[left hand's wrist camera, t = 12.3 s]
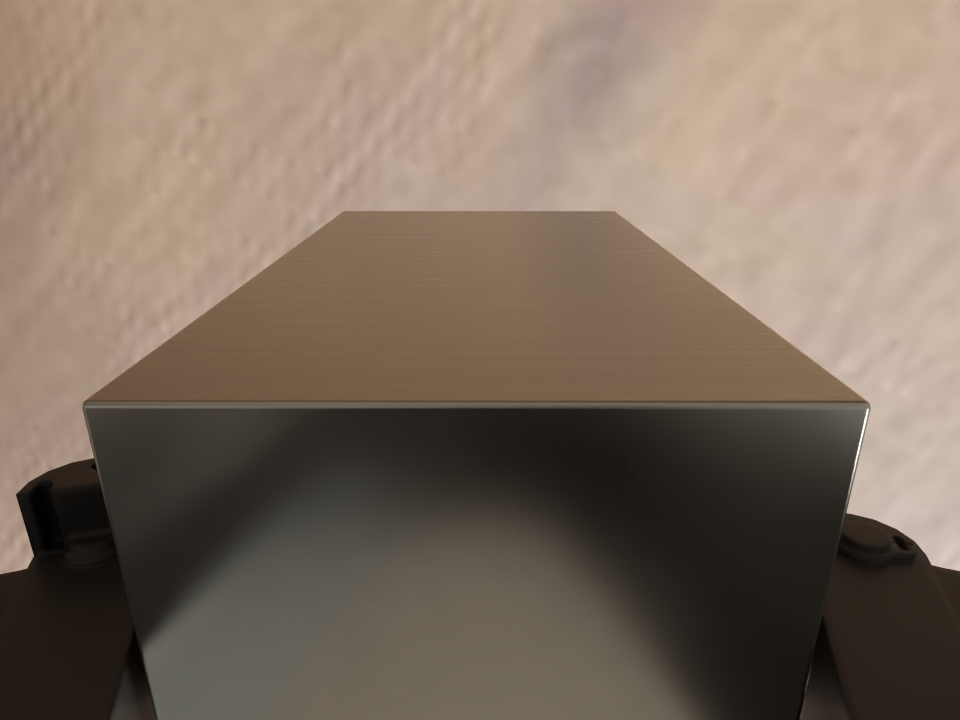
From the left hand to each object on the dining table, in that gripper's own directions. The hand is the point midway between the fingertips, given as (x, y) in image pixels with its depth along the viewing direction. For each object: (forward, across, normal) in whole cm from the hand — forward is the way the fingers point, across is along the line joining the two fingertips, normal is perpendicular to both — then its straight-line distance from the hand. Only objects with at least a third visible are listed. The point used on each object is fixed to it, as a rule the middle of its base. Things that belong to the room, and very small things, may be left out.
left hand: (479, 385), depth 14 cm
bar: (+1, 0, -8) cm, 8 cm away
